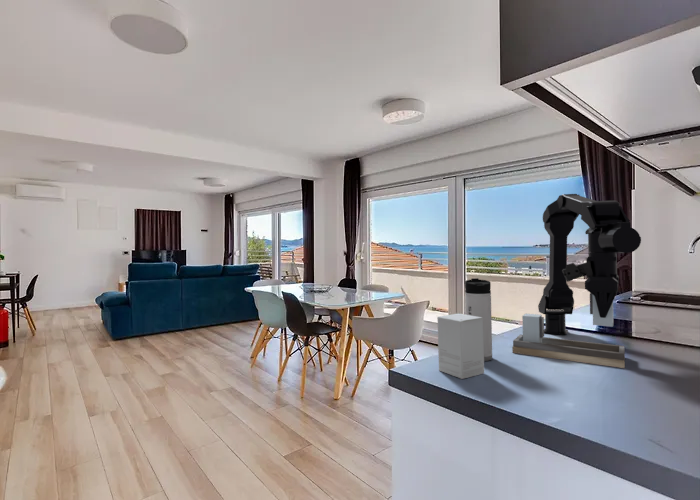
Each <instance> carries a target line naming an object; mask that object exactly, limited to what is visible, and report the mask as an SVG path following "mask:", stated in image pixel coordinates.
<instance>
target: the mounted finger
mask: <svg viewBox="0 0 700 500" xmlns="http://www.w3.org/2000/svg"><path fill="white" fill-rule="evenodd" d="M542 315H543V314H537V313H535V314H534V313H524V314H523V315H522V316H521V317H522V335H523V341H527V342H535V343H542V338H543V337H545V333H544V329H545V318H544V317H545V316H542Z"/></svg>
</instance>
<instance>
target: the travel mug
mask: <svg viewBox="0 0 700 500" xmlns="http://www.w3.org/2000/svg"><path fill="white" fill-rule="evenodd" d="M491 283H492V282H491V281H490V280H486V279H480V278H478V277H477V278H471V279H467V280H465V281H464V289H465V290H464V294H465V295H464V304H465V307H464V308H465V315H471V316H476V317H482V318H483V344H484V362H489V361H491V360H493V336H492V335H493V332H492V331H493V330H492V329H493V327H492V326H493V325H492V324H493V322H492V321H493V320H492V319H493V318H492V292H491V291H492V290H491V286H492V284H491Z"/></svg>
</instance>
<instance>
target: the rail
mask: <svg viewBox="0 0 700 500" xmlns="http://www.w3.org/2000/svg"><path fill="white" fill-rule="evenodd" d="M511 350H512V353H513V354H519V355H527V356H534V357H542V358H549V359H556V360H562V361H570V362H578V363H586V364H592V365H598V366H599V365H601V366H606V367H613V368H614V367H615V368H621V369H625V367H626V366H625V365H626V363H625V359H626V358H625V356H626V355H625V345H620V344H609V343H601V342H591V341H583V340H572V339H563V338H555V337H545V336H543V338H542V343H535V342H527V341H523V334H519V335H517V336H516V338H514V339H513V340H512V349H511Z"/></svg>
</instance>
